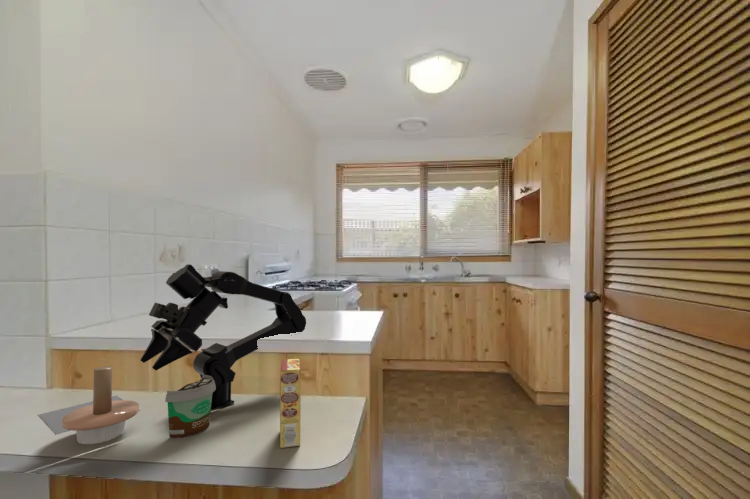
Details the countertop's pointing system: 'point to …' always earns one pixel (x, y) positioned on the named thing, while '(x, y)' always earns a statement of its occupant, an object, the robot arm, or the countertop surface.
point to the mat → (55, 417)
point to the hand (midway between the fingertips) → (147, 365)
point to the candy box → (290, 403)
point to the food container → (190, 408)
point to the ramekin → (100, 434)
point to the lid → (101, 406)
